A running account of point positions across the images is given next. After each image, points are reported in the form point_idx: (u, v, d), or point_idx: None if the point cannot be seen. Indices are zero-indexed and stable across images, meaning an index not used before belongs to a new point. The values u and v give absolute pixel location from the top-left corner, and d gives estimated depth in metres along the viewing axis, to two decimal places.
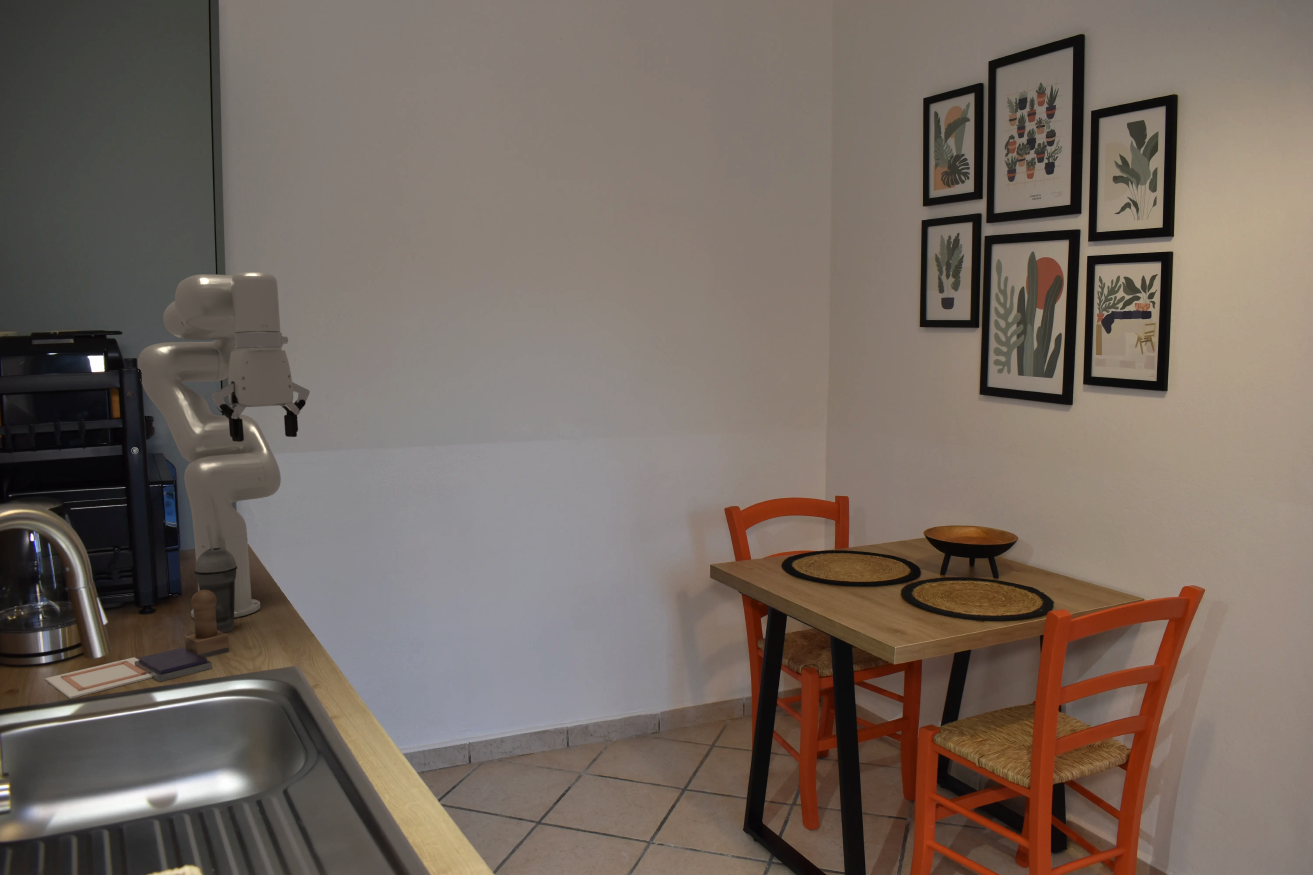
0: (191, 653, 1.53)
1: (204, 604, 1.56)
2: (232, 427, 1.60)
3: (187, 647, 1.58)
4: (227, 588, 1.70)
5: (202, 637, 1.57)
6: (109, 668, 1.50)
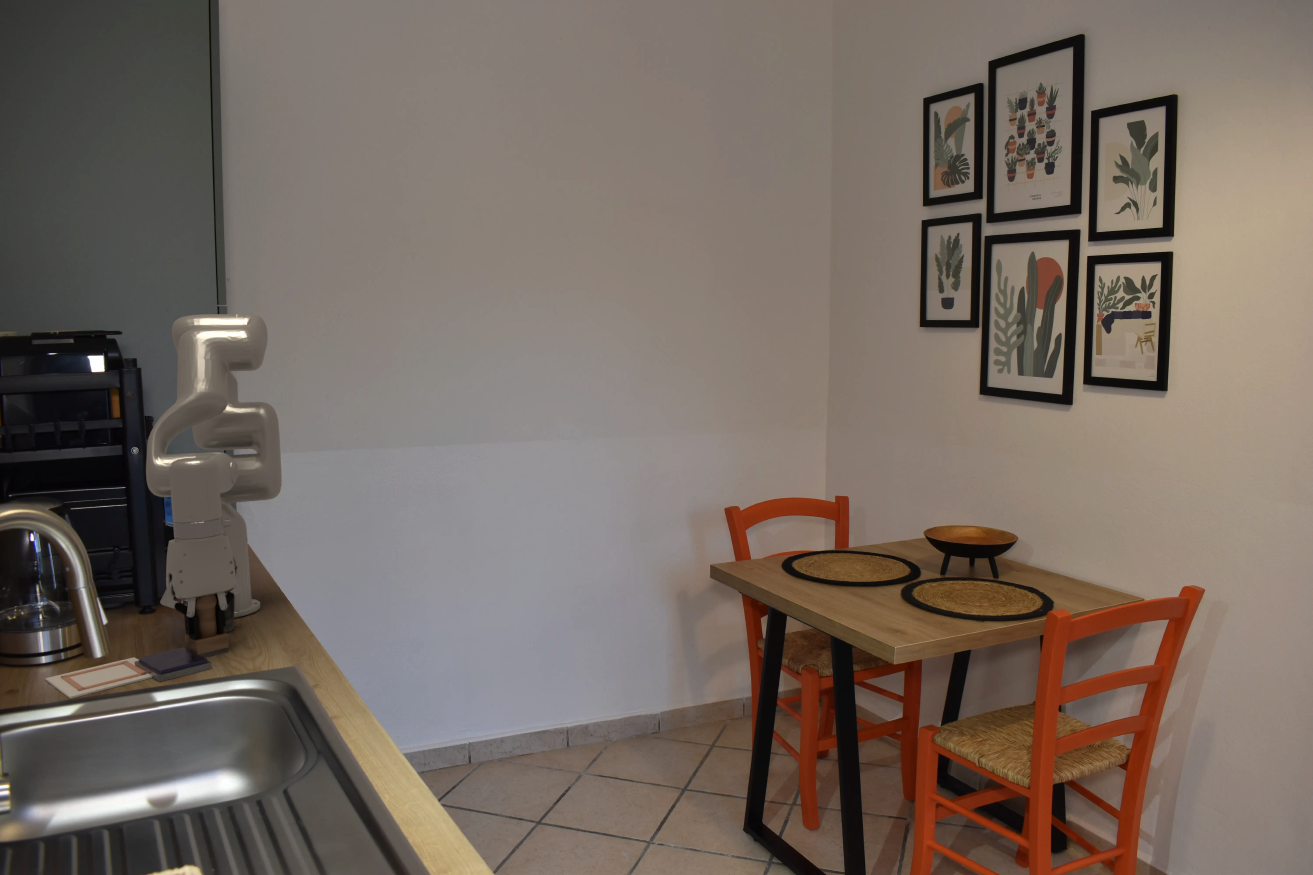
0: (191, 653, 1.53)
1: (204, 604, 1.56)
2: (187, 625, 1.56)
3: (187, 647, 1.58)
4: None
5: (202, 637, 1.57)
6: (109, 668, 1.50)
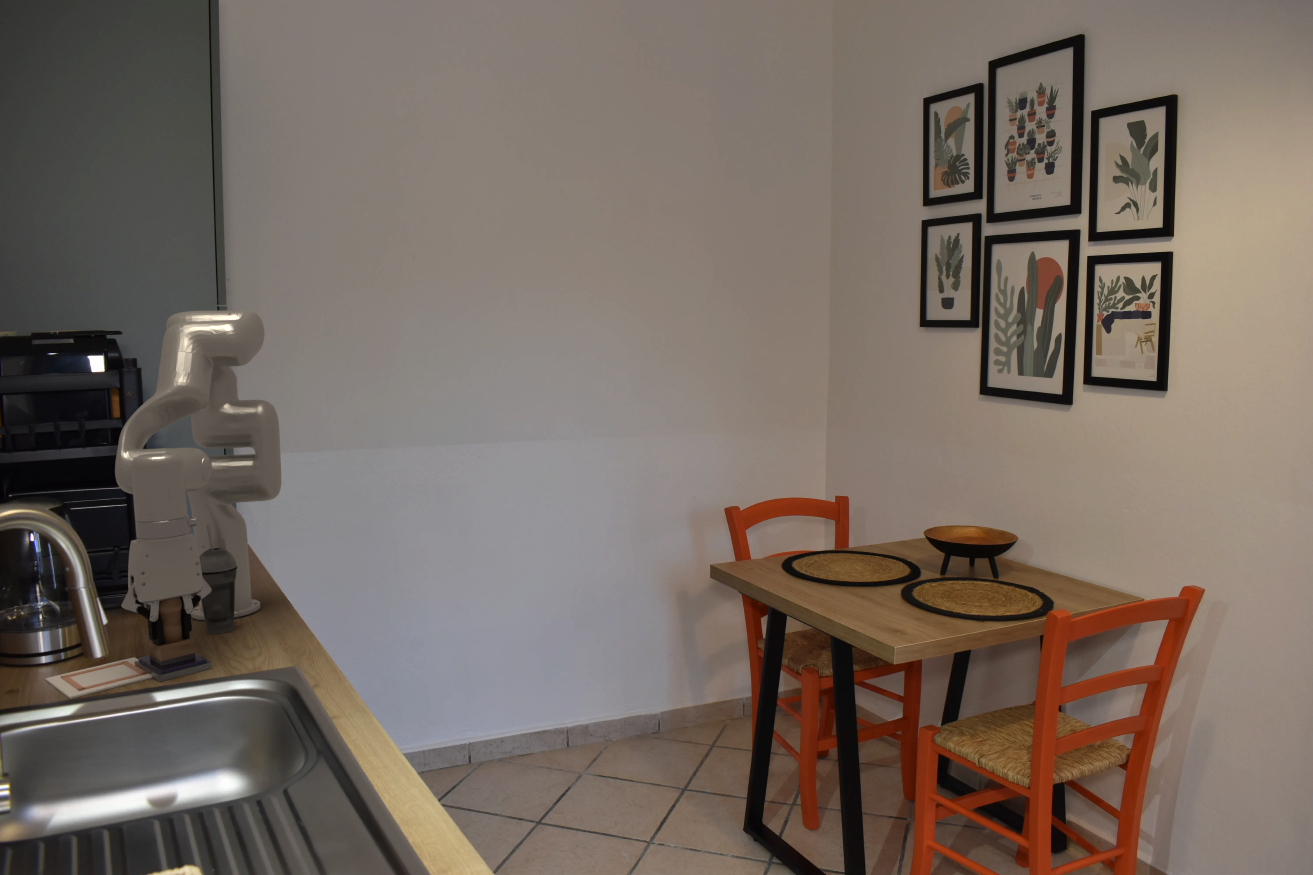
0: None
1: (168, 608, 1.48)
2: (151, 629, 1.48)
3: (151, 653, 1.50)
4: (227, 588, 1.70)
5: (166, 642, 1.49)
6: (109, 668, 1.50)
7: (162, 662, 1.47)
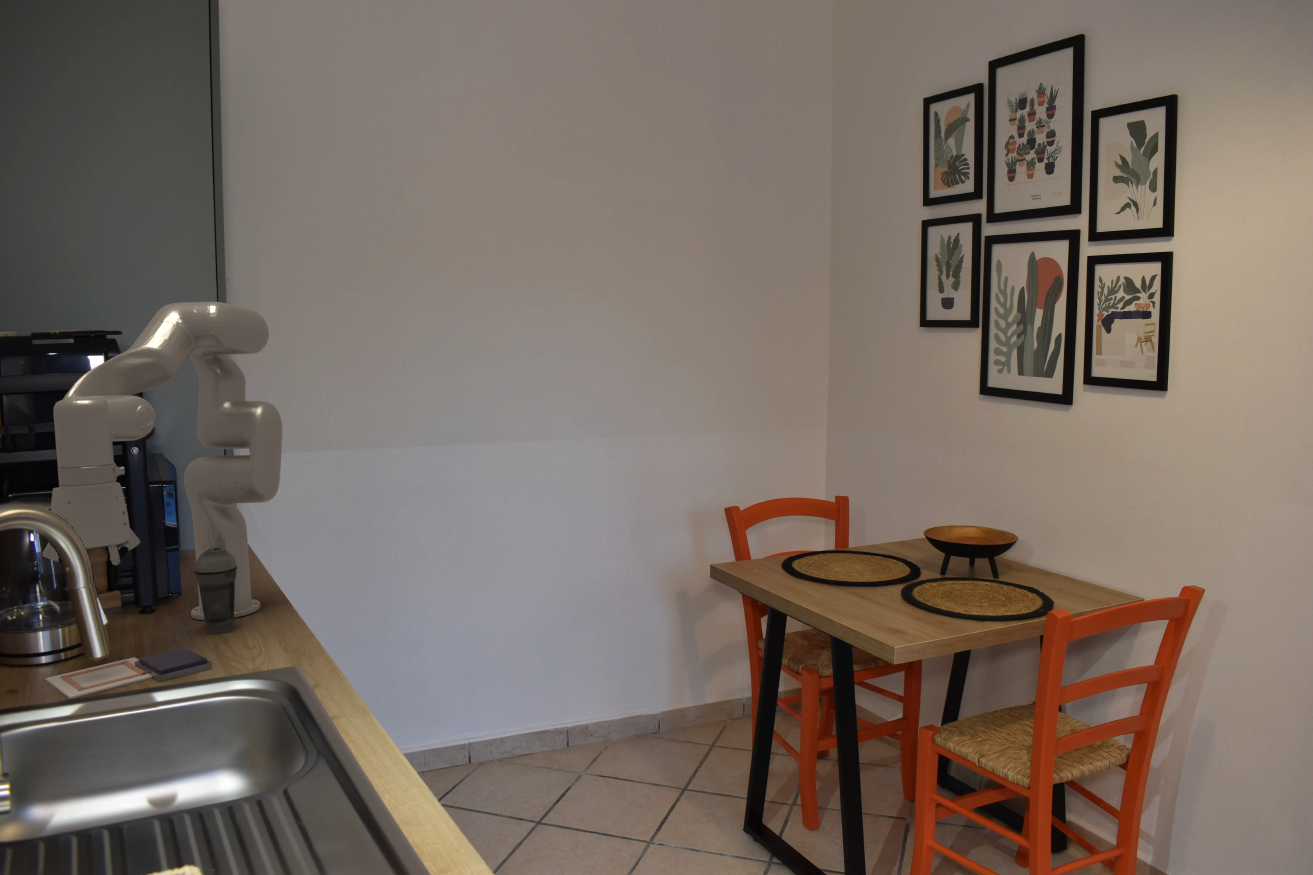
0: (191, 653, 1.53)
1: (93, 558, 1.43)
2: None
3: None
4: (227, 588, 1.70)
5: None
6: (109, 668, 1.50)
7: None
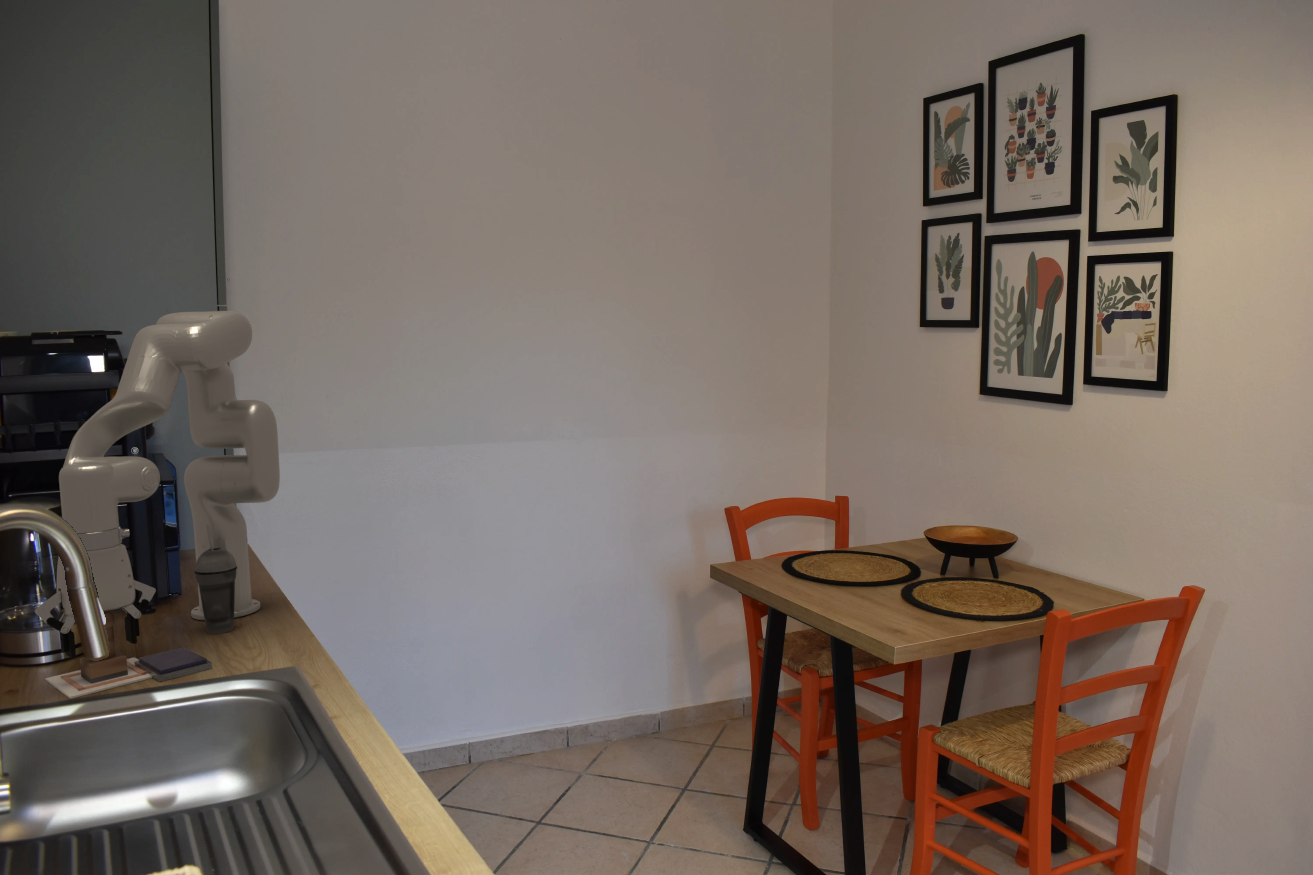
0: (191, 653, 1.53)
1: None
2: (62, 642, 1.42)
3: (82, 670, 1.46)
4: (227, 588, 1.70)
5: None
6: None
7: (92, 680, 1.43)
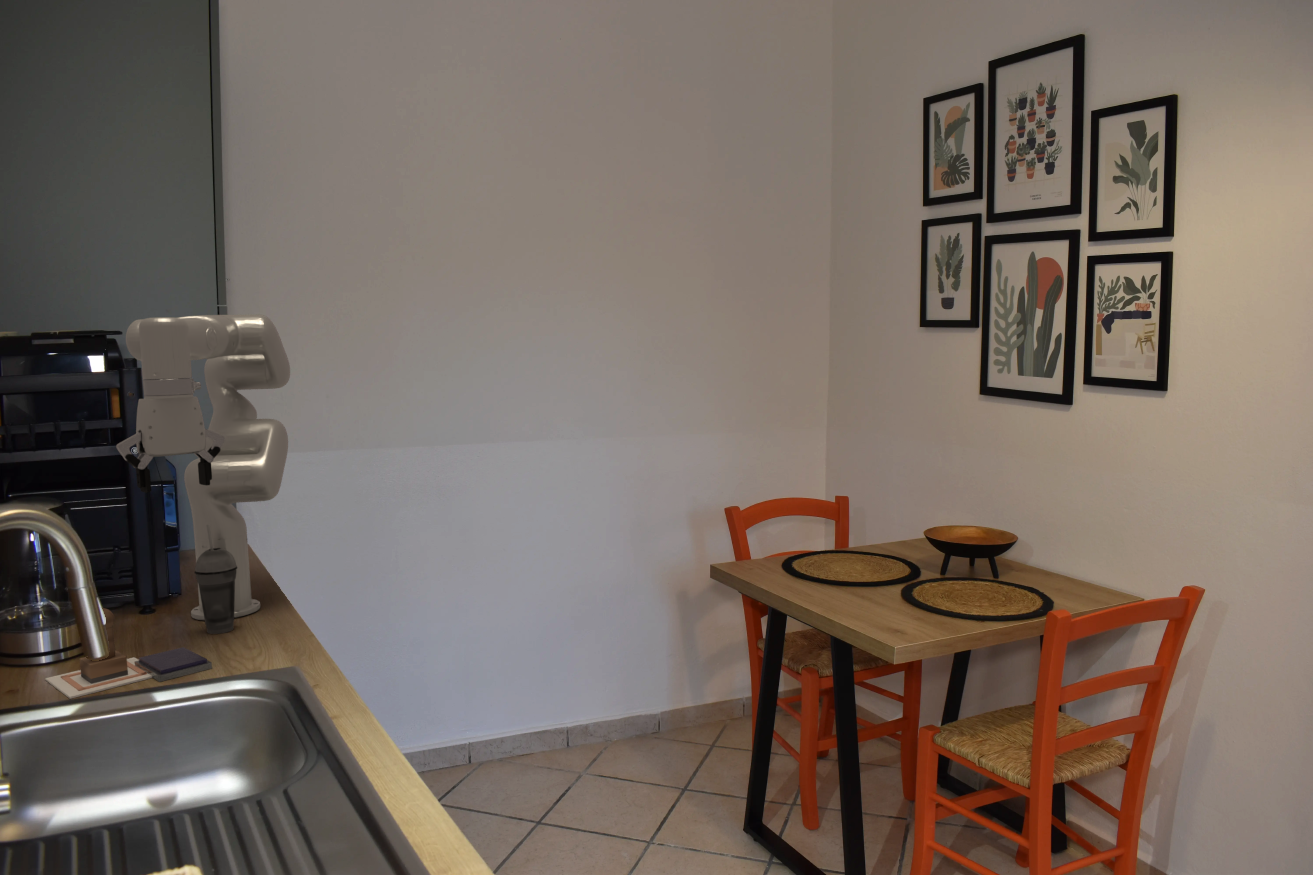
0: (191, 653, 1.53)
1: None
2: (139, 477, 1.55)
3: (82, 670, 1.46)
4: (227, 588, 1.70)
5: None
6: None
7: (92, 680, 1.43)
